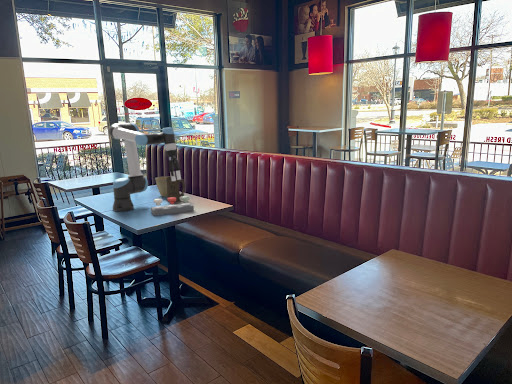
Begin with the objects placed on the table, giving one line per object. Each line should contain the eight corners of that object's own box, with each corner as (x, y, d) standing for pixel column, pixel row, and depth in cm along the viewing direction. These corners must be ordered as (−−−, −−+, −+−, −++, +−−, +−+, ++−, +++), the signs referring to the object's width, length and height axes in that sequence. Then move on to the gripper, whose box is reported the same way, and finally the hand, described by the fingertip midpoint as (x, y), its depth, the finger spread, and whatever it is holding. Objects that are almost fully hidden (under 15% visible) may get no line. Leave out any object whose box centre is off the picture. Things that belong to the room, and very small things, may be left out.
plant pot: (158, 194, 336) (157, 176, 333) (174, 193, 337) (173, 176, 334) (154, 197, 322) (153, 179, 319) (172, 197, 323) (171, 179, 319)
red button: (168, 204, 268) (168, 199, 267) (167, 203, 274) (166, 197, 273) (177, 203, 271) (176, 198, 270) (175, 202, 276) (174, 196, 275)
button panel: (153, 215, 263) (153, 209, 262) (151, 212, 272) (150, 206, 271) (193, 210, 275) (193, 205, 274) (190, 208, 284) (189, 202, 283)
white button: (154, 206, 264) (154, 200, 263) (153, 204, 269) (152, 199, 269) (163, 205, 267) (162, 199, 266) (161, 203, 272) (161, 198, 271)
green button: (182, 203, 272) (182, 197, 272) (180, 201, 278) (180, 196, 277) (190, 202, 275) (190, 197, 274) (188, 200, 280) (188, 195, 279)
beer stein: (166, 202, 303) (166, 178, 299) (165, 199, 313) (165, 176, 309) (185, 202, 307) (185, 178, 303) (184, 199, 317) (184, 176, 313)
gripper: (171, 149, 245) (177, 180, 247) (181, 149, 270) (186, 178, 272) (160, 150, 245) (166, 182, 247) (171, 151, 270) (176, 179, 272)
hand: (176, 180), depth 260 cm, fingers open, 13 cm apart
